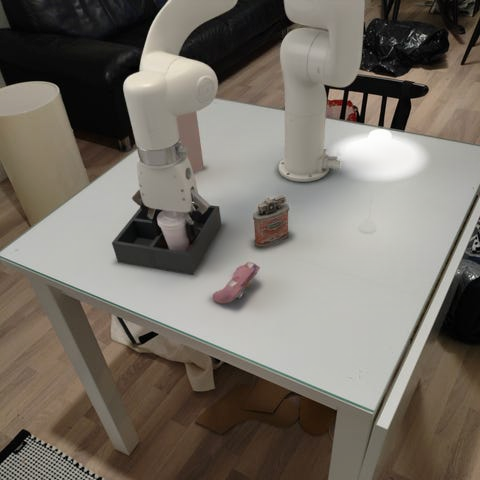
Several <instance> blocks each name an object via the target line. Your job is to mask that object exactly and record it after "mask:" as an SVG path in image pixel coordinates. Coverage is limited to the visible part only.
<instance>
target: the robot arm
mask: <svg viewBox="0 0 480 480" xmlns="http://www.w3.org/2000/svg"><path fill="white" fill-rule="evenodd" d="M238 1H239V0H167V1H166V3H165V4H164V5H163V6H162V7H161V9H160V10H159V12H158V13H157V15H155V18H154V20H153V21H152V23H151V25H150V27H149V30H148V32H147V36H146V40H145V43H144V47H143V50H142V53H141V57H140V63H139V71H137V72H134V73H132V74H130V75H128V76H127V77H126V79H125V80H124V82H123V85H122V87H123V88H122V89H123V95H124V100H125V103H126V108H127V112H128V116H129V121H130V125H131V127H132V128H131V129H132V134H133V138H134V141H135V146H136V150H137V155H138V157H137V158H136V173H137V183H138V190H137V191H136V192H135V193H134V194H133V195H132V197H131V199H132V201H133V202H134V203H135V204H136V205H138V206H139V208H141V209H142V210H143V211H144V212H146V213H147V214H148V215H147V216H148V218H149V219H151V220H152V225H153V229H154V230H155V234H156V236H160V235H161V233H162V229H161V227H160V226H159V225H158V222H157V216H158V214H159V213H160V212H161V211H159V209H161V210H168V211H176V212H181V213H182V214H183V216H184V217H185V219H186V221H187V223H186V231H187V237H188V240H189V241H192V240H193V239H194V237H195V235H197V234H198V225H197V219H198V218H199V217H200V216H201V215H202V214H203V213H204V212H205V211H206V210H207V209H208V208H209V206H210V205H211V204H210V203H209V202H208V201H207V200H206V199H205V198H204V197H203V196H201V194H199V190H198V185H197V181H196V177H195V174H194V173H195V172H194V173H193V170H192V167H191V164H190V161H189V159H188V157H187V154H188V147H186V146H183V145H182V144H181V139H180V137H179V131H178V125H177V119H176V118H177V116H180V115H183V114H187V113H192V112H196V113H197V112H199V111H202V110H203V109H205V108H207V107H208V106H209V105H211V104H212V102H213V101H214V100H215V98H216V96H217V94H218V90H219V80H218V77H217V75H216V72H215V71H214V70H213V69H212V67H211V66H209V65H208V64H206V63H204V62H202V61H199V60H196V59H191V58H187V57H184V56H181V55H180V52H181V50H182V47H183V45H184V43H185V41H186V40H187V39H188V37H189V36H190V35H191V33H193V31H194V30H196V29H197V28H198V27H200V26H201V25H202V24H205V23H206V22H208V21H210V20H212V19H214V18H216V17H219V16H221V15H223V14H225V13H227V12H229V11H230V10H231V9H233V8H235V6H236V4H237V3H238ZM365 2H366V1H365V0H283V5H284V11H285V15H286V17H287V18H288V19H289V21H290V22H292V23H295V24H298V25H302V26H306V27H301V28H300V27H298V28H295V29H292V30H290V31H289V32H288V33H287V34H286V35H285V37H284V38H283V40H282V42H281V45H280V49H279V62H280V69H281V73H282V80H283V88H284V89H283V90H284V158H283V159H282V160H281V161H280V162H279V164H278V171H279V174H280V175H281V176H282V177H283V178H284V179H287V180H289V181H292V182H297V183H298V182H299V183H307V182H308V183H309V182H314V181H317V180H320V179H322V178H323V177H325V176H326V175H327V174H328V172H329V171H330V169H332V170H333V169H334V170H340V169H341V164H342V161H341V160H338V158H339V157H338V156H334V155H333V156H331V155H329V154H327V148H325V137H326V136H325V135H326V134H325V133H326V120H327V118H326V117H327V105H328V104H327V103H328V98H327V97H328V96H327V92H326V88H325V86H329V87H334V88H346V87H349V86H350V85H351V84H352V83H354V81H355V80H356V78H357V76H358V74H359V71H360V68H361V65H362V64H361V63H362V55H363V44H364V42H363V41H364V27H365V24H364V23H365V6H366V3H365ZM310 27H311V28H310ZM317 28H318V29H317ZM327 30H328V31H327ZM192 203H195V204H196V205H198V206H199V208H198V209H197V210H196V209H195V207H194V206H193V204H192ZM189 212H190V213H191V215H190V213H189Z"/></svg>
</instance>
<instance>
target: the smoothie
mask: <svg viewBox="0 0 480 480" xmlns="http://www.w3.org/2000/svg"><path fill="white" fill-rule="evenodd" d="M157 222H158V225H159V226H160V227H161V229H162V232H163V234H164V237H165V239H166V242H167V244H168V247H169V250H175V251H182V252H188V250H189V249H190V248H189V240H188V237H187V231H186V223H187V221H186V219H185V217H184V216H183V214H182V213H181V212H176V211H168V210H163V211H161V212H160V213H159V214H158V216H157Z"/></svg>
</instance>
